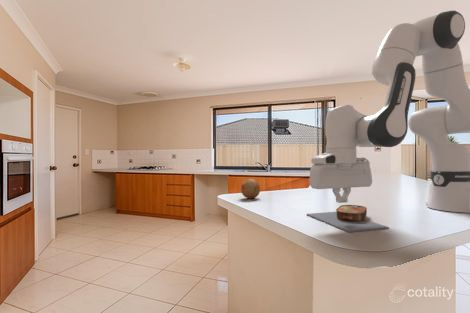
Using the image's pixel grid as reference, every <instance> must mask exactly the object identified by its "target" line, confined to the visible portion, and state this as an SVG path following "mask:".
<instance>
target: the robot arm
mask: <svg viewBox="0 0 470 313" xmlns="http://www.w3.org/2000/svg"><path fill="white" fill-rule="evenodd" d="M465 29H466V22H465V19H464V16H463V14H461V13H460V12H459V11H457V10H446V11H443V12H440V13H438V14H436V15H432V16H429V17H425V18H423V19H421V20H418V21H416V22H414V23H409V22H404V23H403V22H402V23H399V24H397V25H394V26H393V27H392V28H390V30H389V31H388V32H387V34H386V35H385V37H384V38H383V40H382V42H381V44H380V45H379V48H378V50H377V53H376V55H375V57H374V60H373V63H372V67H371V75H372V76H373V77H374V79H375V80H376V81H377V82H378V83H381V84H382V85H384V86H386V87H387V86H388V88H387V89H388V90H387V92H386V96H385V101H384V105H383V107H382V108H381V109H380V110H379V111H378V112H377V113H375V114H372V115H366V114H363V113H361V112H359V110H356V109H355V108H354V106H353V105H350V104H345V105H340V106H338V107H337V106H336V107H333V108H331V109H329V111H327V114H326V117H325V127H324V129H325V130H324V131H325V134H324V135H325V138H326V145H325V152H324V153H321V154H318V155H315V156H313V157H311V159H310V162H311V164H312V165H311V166H310V170H309V186H310V187H311V188H312V189H315V190H325V189H326V190H329V189H332V193H333V195H334V196H335V202H336V203H338V204H339V203H341V204H342V203H348V201H349V200H348V199H349V196H350V194H351V191H352V188H369V187H371V186H372V184H373V176H372V171H371V165H370V164H371V163H370V161H369V160H368V159H367V158H366V157H357V156H358V155H357V147H359V148H374V147H375V148H377V147H380V148H393V147H396V146H398V145H399V144H401V143H402V142H403V141H404V140H405V138H406V136H407V134H408V130H410V132H411V133H412V134H413V135H416V136H417V137H419V138H420V139H422V140H423V141H424V142H425V143H426V145H427V147H428V150H429V152H430V160H431V171H430V172H429V173H430V175H429V178H430V180H431V183H430V184H429V186H428V196H427V198H428V199H427V201H426V202H425V205H426V206H427V208H430V209H433V210H439V211H443V212H444V211H446V212H453V213H465V214H466V213H469V214H470V150H469V148H468V147H467V146H464V145H462V144H460V143H456V142H454V141H451V140H450V139H449V135H453V134H454V135H456V134H468V133H470V87H469V86H468V83H467V79H466V76H465V71H464V70H465V69H464V63H463V62H464V61H463V55H462V51H461V48H460V45H459V42H460V41H461V39H462V37H463V36H464V34H465ZM420 56H421V60H422V61H421V62H422V64H421V67H422V73H423V81H424V88H425V92H426V93H427V94H428V95H429V96H431V97H434V98H439V99H442V100H444V101H445V102H446V103H447V104H445V105H438V106H431V107H426V108H422V109H419V110H416V111H414V112H412V113H411V114H410V116H409V111H410V107H411V106H410V105H411V101H412V97H413V91H414V87H415V83H416V74H417V73H416V69H415V66H414V62H415V60H416V57H420ZM408 116H409V118H408ZM408 128H409V129H408ZM341 189H342V191H343V192H342V195H341V194H340V192H341Z"/></svg>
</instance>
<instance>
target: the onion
mask: <svg viewBox="0 0 470 313" xmlns="http://www.w3.org/2000/svg"><path fill="white" fill-rule="evenodd" d="M240 191H241V194H242V195H243V196H244V198H247V199H255V198H257V197H258V196H259V195H260V192H261V186H260V184H259V182H258V181H257V180H256V179H253V178H246V179H245V180H244V181H243V182H242V183H241V186H240Z"/></svg>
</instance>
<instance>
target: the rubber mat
mask: <svg viewBox="0 0 470 313" xmlns="http://www.w3.org/2000/svg"><path fill="white" fill-rule="evenodd" d="M306 216H308V217H310V218H313V219H315V220H318V221H320V222H322V223H324V222H325V224H327V225H330V226H331V227H335V228H336V229H340V230H341V231H344V232H346V233H359V232H369V231H377V230H380V231H381V230H386V229H390V227H389V226H386V225H383V224H380V223H378V222H375V221H370V220H367V219H366V218H365V219H364V220H362V221H352V220H342V219H339V218H337V211H327V212H314V213H313V212H312V213H306Z"/></svg>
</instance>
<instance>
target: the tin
mask: <svg viewBox="0 0 470 313" xmlns="http://www.w3.org/2000/svg"><path fill="white" fill-rule="evenodd" d="M367 209H368V208H367V207H366V206H364V205H363V206H362V205H355V204H343V205H340V206H339V207H337V208H336V211H335V212H337V218H339V219H342V220H352V221H362V220H364V219H365V220H366V216H367V212H368V211H367Z"/></svg>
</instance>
